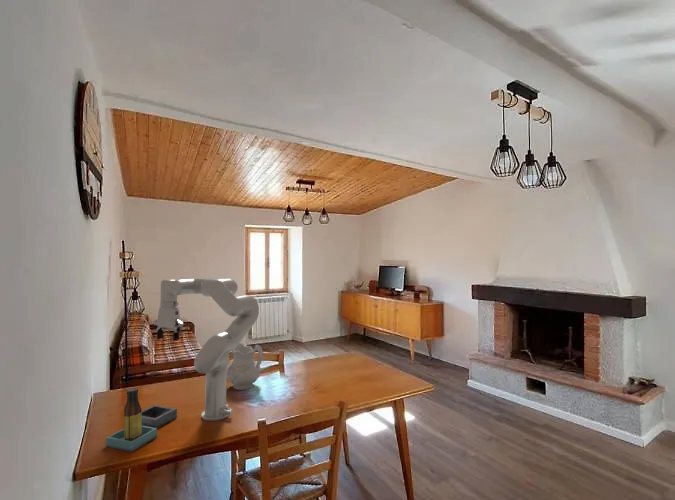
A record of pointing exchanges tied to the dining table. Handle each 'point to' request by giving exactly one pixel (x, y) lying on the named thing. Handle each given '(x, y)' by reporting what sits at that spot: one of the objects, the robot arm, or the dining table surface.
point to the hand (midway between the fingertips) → (168, 339)
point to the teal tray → (122, 444)
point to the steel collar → (163, 416)
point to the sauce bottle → (132, 416)
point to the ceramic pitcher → (244, 367)
